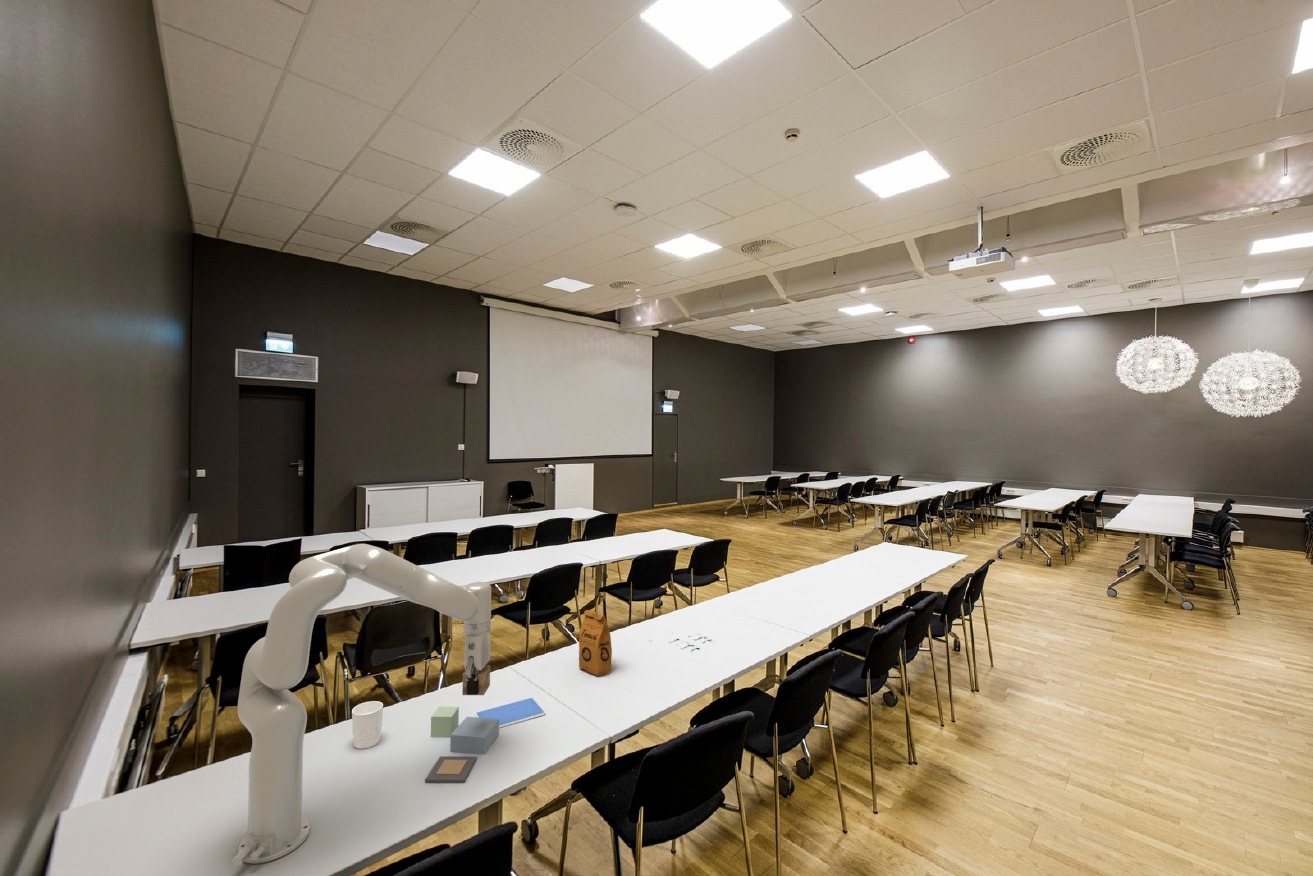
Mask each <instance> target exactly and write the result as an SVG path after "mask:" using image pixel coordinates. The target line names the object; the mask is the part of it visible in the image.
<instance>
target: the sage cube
mask: <svg viewBox="0 0 1313 876" xmlns="http://www.w3.org/2000/svg"><path fill="white" fill-rule="evenodd" d="M459 711H460V707H459V706H438V707H437V708H436V709H435V711H434V712H433V714H432V715H431V716H430V738H450V736H451V734H452V733H453V732H454V730H455V729H456V728H457V727H458V726H459V719H460V718H459V717H460V716H459V715H460V713H459Z"/></svg>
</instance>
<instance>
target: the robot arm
mask: <svg viewBox="0 0 1313 876" xmlns="http://www.w3.org/2000/svg"><path fill="white" fill-rule="evenodd" d="M354 578H356V579H357V580H360V581H362V582H364V583H366V584H368V585H371V586H373V587H376V588H378V589H381V590H383V591H386V592H387V593H389V594H393V595H395V596H397V597H399V598H401V599H404V600H406V601H409V602H411V603H414V604H418V605H422V606H424V607H427V608H430V609H433V610H434V611H437V612H439V613H440V614H443V615H445V616H447V617H451V618H453V619H455V620H457V621H461V622H462V621H463V626H462V627H463V629H462V630H463V634H464V635H465V642H464V660H463V661H464V669H465V670H466V676H467V694H468V695H467V696H478V695H477V694H478V693H479V680H477V679H478V671H481V670H482V669H483V668H484V667H485V665H488V663H489V661H490V659H491V655H492V654H491V635H490V634H491V631H492V630H491V628H492V624H491V623H492V619H491V618H492V586H491V584H490V583H488V582H487V581H474V582H470V583H467V584H465V585H457V584H454V583H453V582H451V581H448V580H446V579H444V578H442V577H441V576H438V575H436V574H435V573H433V572H431V571H429V570H427V569H425V568H422V567H421V566H419V565H417V564H414V563H413V562H410V561H409V560H406V559H405V558H402V557H400V556H399V555H396V554H394V553H393V552H390V551H388V550H385V549H384V548H381V547H379V546H374V545H371V544H367V543H355V544H352V545H348V546H344V547H342V548H338V549H335V550H332V551H331V550H330V551H327V552H324V553H320V554H316V555H313V556H310V557H307V558H305V559H302V560H300V561H299V562H298V563H296V564H295V565H294V566H293V568H292V569H291V571H290V572H289V577H288V583H289V585H290V587H291V588H290V589H288V591H287V592H285V593H284V594H283V595H282V596H281V597H280V598H279V600H278V601H277V602H276V604H275V605H274V607H273V608H272V610H271V613H270V615H269V619H268V624H267V627H266V632H265V635H264V637H262V638H260V639H258V640H257V641H256V642H255V643H253V644H252V646H251V647H250V649H249V650H248V652H247V653H246V655H245V658H244V661H243V666H242V672H241V678H240V679H241V680H240V686H239V693H238V694H239V695H238V698H237V699H238V700H237V715H238V719H239V720H240V722H241V723H242V725H243V726H244V727H245V728H246V729H247V731H248V732H249V733H250V735H251V738H252V741H251V742H252V744H251V745H252V746H251V750H250V755H249V762H248V797H247V798H248V803H247V804H248V808H247V810H248V811H247V813H248V815H247V835H246V836H245V837H243V839H242V841H240V842H239V845H238V849H237V852H238V853H237V854H236V855H235V856H234V857H233V858H232V860H231V864H232V866H233V867H240V866H241V865H242V864H243V863H247V864H263V863H267V862H271V861H274V860H276V859H280V858H281V857H284V856H286V855H287V854H289V853H291V852H293V851H294V850H295V849H297V848H299V847H300V846H301V845H302V844H303V843H304V842H305V841H306V839H307V837H308V836H309V834H310V830H311V824H310V821H309V820H308V819H307V818H305V817H303V816H302V815H303V814H302V812H303V770H304V769H303V767H304V766H303V765H304V764H303V759H304V758H303V757H304V756H303V753H304V750H303V749H304V737H305V734H306V727H307V721H308V714H307V710H306V706H305V705H304V703H303V701H302V700H301V699H300V698H299V697H298V696H296V694H294V693H293V692H292V691H290V690H289V689H292V688H294V687H295V686H297V685H298V684H299V683H300V682H301V681H302V680H303V679H304V677H305V674H306V673H307V670H308V666H309V658H310V652H311V651H310V650H311V644H312V643H311V642H312V634H313V631H314V630H313V629H314V624H315V621H316V619H317V616H318V615H319V614H320V612H322V610H323V609H324V608H325V607H326V606H327V605H328V604H330V603H331V602H333V601H334V600H335V599H337V598H339V596H340V595H342V593H343V592H344V591H345V589H346V586H347V583H348V580H351V579H354ZM473 667H476V669H473ZM465 670H464V671H465ZM472 671H475V675H474V674H472Z"/></svg>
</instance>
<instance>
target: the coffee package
mask: <svg viewBox="0 0 1313 876" xmlns="http://www.w3.org/2000/svg"><path fill="white" fill-rule="evenodd" d="M583 614H584V619H583V620H582V622H581V623H582V624H581V626H580V629H579V631H578V633H579V634H578V639H579V640H578V648H579V649H578V668H580V669H582V670H584V671H587V672H588V673H589V674H591V675H593V676H597V677H598V678H599V677H601V676H604V675H607V674H610V673H612V656H613V651H612V650H613V649H612V638H611V633H610V632H611V631H610V629H609V628H610V627H609V626H608V621H607V619H606V616H605V615H603V614H601V613H600V612H599V613H598V612H596V611H592V610H588V609H586V610H584V612H583ZM606 673H607V674H606Z"/></svg>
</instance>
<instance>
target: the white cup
mask: <svg viewBox="0 0 1313 876" xmlns="http://www.w3.org/2000/svg"><path fill="white" fill-rule="evenodd" d="M383 710H384V704H383V702H381V701H378V700H377V701H375V700H373V701H372V700H370V701H365V702H362V703H358V704H357V705H356V706H354V707H353V708H352V709H351V719H352V720H351V723H352V726H351V727H352V737H353V747H354V748H355V749H359V750H363V749H368V748H372V747H374V746H375V745H378V743H379V742H380V741H381V732H382V725H383V712H384V711H383Z"/></svg>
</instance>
